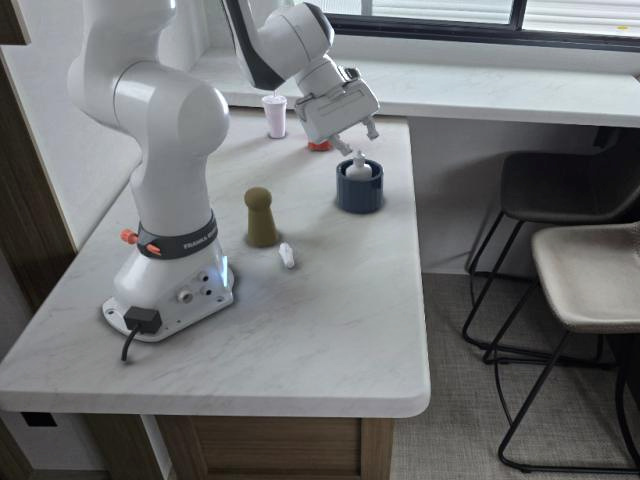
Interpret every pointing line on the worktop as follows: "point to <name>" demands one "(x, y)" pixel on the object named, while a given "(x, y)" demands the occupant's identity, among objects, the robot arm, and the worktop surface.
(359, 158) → the eye dropper bottle
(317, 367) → the worktop surface
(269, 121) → the smoothie
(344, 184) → the dark blue round pot
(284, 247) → the small white plastic part
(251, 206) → the olive pawn
